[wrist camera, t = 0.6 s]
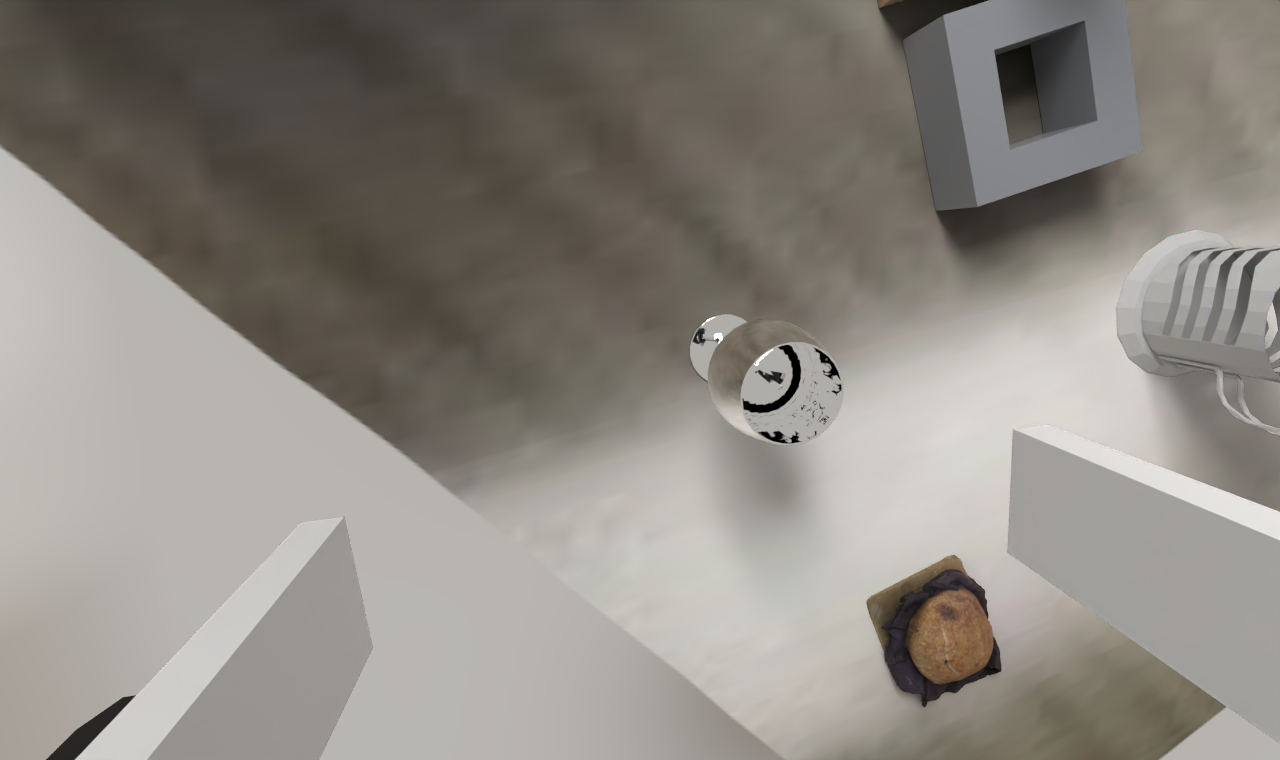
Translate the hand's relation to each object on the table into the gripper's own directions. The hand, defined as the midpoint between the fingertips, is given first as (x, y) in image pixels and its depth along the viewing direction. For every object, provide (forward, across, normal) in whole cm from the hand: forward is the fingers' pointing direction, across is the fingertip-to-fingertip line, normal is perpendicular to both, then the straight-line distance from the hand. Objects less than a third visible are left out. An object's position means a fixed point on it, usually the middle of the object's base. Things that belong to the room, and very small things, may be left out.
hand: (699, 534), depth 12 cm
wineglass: (+26, +7, -2) cm, 27 cm away
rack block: (+26, +25, +12) cm, 38 cm away
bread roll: (+27, +21, -24) cm, 42 cm away
